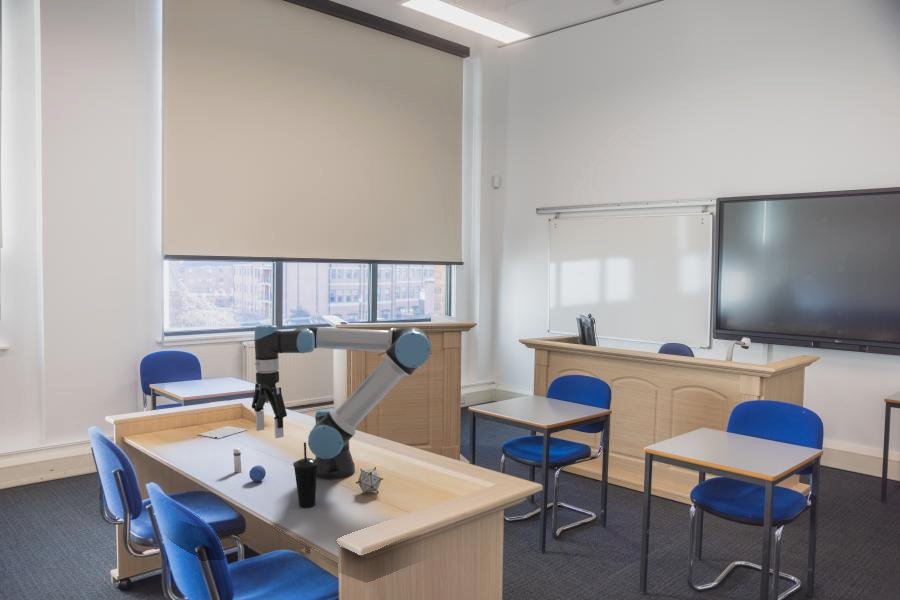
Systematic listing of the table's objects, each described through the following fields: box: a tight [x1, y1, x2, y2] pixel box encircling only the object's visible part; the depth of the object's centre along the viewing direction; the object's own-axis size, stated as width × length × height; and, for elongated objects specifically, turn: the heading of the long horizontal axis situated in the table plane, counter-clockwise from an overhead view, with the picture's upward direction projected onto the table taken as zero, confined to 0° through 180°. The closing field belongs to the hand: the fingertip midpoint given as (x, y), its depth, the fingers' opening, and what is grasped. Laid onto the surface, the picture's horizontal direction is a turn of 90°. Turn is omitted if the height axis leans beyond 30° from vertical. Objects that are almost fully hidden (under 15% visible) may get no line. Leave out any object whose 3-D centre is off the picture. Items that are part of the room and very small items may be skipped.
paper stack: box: [198, 425, 248, 439], centre depth 295 cm, size 23×25×1 cm
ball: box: [249, 465, 267, 483], centre depth 233 cm, size 6×6×6 cm
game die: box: [355, 466, 384, 496], centre depth 220 cm, size 9×8×10 cm
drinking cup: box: [292, 442, 318, 509], centre depth 209 cm, size 8×8×20 cm
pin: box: [233, 447, 242, 474], centre depth 244 cm, size 2×2×8 cm
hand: (269, 433), depth 225 cm, fingers open, 13 cm apart
